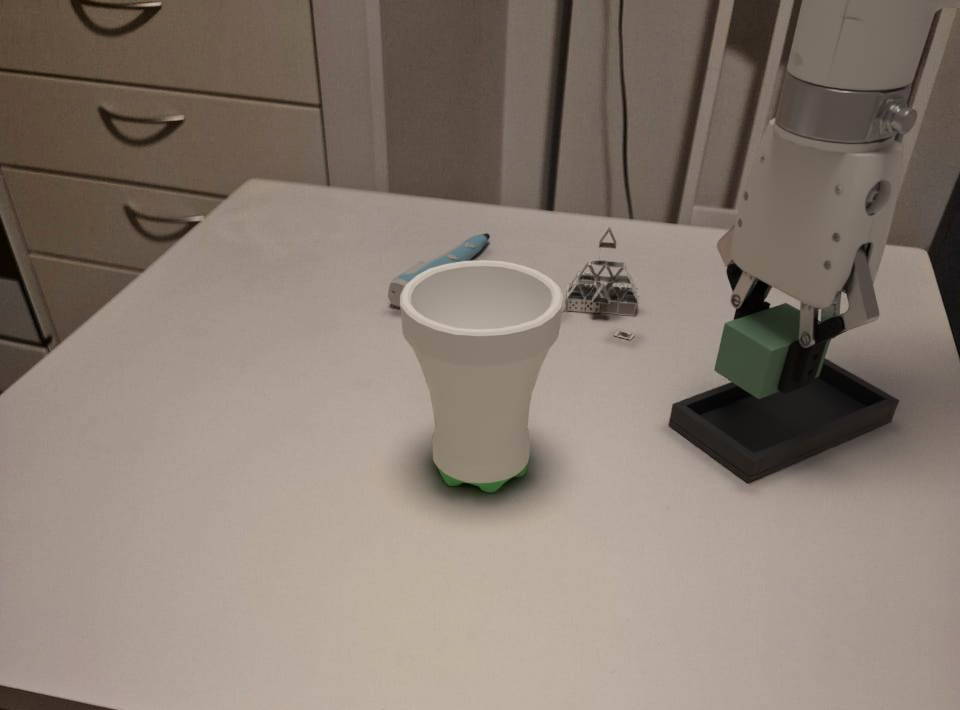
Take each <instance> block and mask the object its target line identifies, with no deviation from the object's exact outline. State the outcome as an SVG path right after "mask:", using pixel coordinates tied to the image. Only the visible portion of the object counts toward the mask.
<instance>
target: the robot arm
mask: <svg viewBox="0 0 960 710" xmlns="http://www.w3.org/2000/svg"><path fill="white" fill-rule="evenodd" d="M946 8H949V9H960V0H801V5H800V9H799V12H798V18H797V22H796V27H795V31H794V34H793V39H792V43H791V48H790V52H789V55H788V56H789V57H788V61H787V65H786V70H785V74H784V78H783V83H782V86H781V87H782V88H781V92H780V96H779V100H778V104H777V109H776V113H775V117H773V118H772V119H770V120H769V121H768V123H767V126H766V127H765V130H764V133H763V135H762V137H761V140H760V142H759V145H758V147H757V149H756V153H755V155H754V158H753V161H752V164H751V167H750V169H749V173H748V176H747V179H746V182H745V185H744V189H743V191H742V195H741V200H740V202H739V206H738V211H737V214H736V219H735V222H734V223H735V224H734V225H733V226H732V227H731V228H729V230H728V231H727V232H726V233H724V234H723V236H722V237H720V238H719V240H718V241H717V243H716V248H717V251H718V254H719V255H720V258H721V260H722V262H723V265H724V267H725V268H726V271H725V272H726V273H725V274H726V277H727V280H728V282H729V285H730V288H731V291H732V293H731V295H730V305H731V307H732V308H733V309H735V311H734V315H733V319H732V320H735V319H738V318H741V317H745V316H748V315H751V314H754V313H757V312H760V311H763V310H766V309H769V308H771V303H770V302H768V301H766V299H767V297H768V296H769V294H770V292H771V291H772V289H773V288H774V289H776V290H778V291H780V292H782V293H783V294H786V295H787V296H789V297H791V298H793V299H795V300H797V301H799V302H800V304H799V305H800V306H799V310H800V321H799V340H797V341H794V342H792V343H791V344H790V346H789V350H788V353H787V357H786V360H785V364H784V367H783V370H782V374H781V377H780V381H779V384H778V390H779V391H780V392H782V393H783V394H786V393H789V392H791V391H794V390H796V389H799V388H802V387H804V386H807V385H809V384H810V383H811V382H812V381H813V379H814V378H815V376H816V374H817V371H818V368H819V364H820V361H821V358H822V355H823V352H824V349H825V346H826V343H827V341H828V340H830V339H831V340H832V339H835V338H836V337H838V336H840V335H842V334H844V333H846V332H848V331H851V330H853V329H857V328H860V327H863V326H865V325H868V324H870V323H873V322H876V321H878V320H879V317H880V309H879V305H878V304H879V303H878V300H877V296H876V291H875V287H874V283H875V280H876V278H877V274H878V272H879V268H880V265H881V263H882V260H883V256H884V252H885V248H886V246H887V241H888V238H889V235H890V231H891V227H892V222H893V218H894V214H895V210H896V206H897V205H896V204H897V201H898V194H899V189H900V184H901V179H902V178H901V177H902V169H903V160H904V149H905V144H904V143H902V142H899V141H898V140H896V139H895V138H896V136H897V134H901V135H906V134H908V133H909V132H910V131H911V130H912V129H913V127H914V126H915V124H916V122H917V120H918V112H917V110H916V109H914V108H911V107H909V105H908V100H909V98H910V95H911V93H912V92H911V91H912V85H913V81H914V79H915V76H916V73H917V71H918V67H919V64H920V60H921V57H922V55H923V52H924V48H925V46H926V42H927V39H928V35H929V33H930V30H931V27H932V23H933V20H934V17H935V14H936V13H937V12H938V11H940V10H941V9H946ZM842 293H844V294H845V295H846V298H847V304H848V308H847V310H846V311H845V312H843V313H841V301H842ZM819 310H821V311H820V313H819ZM819 314H820V321H821V323H820V324H818V320H819Z"/></svg>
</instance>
